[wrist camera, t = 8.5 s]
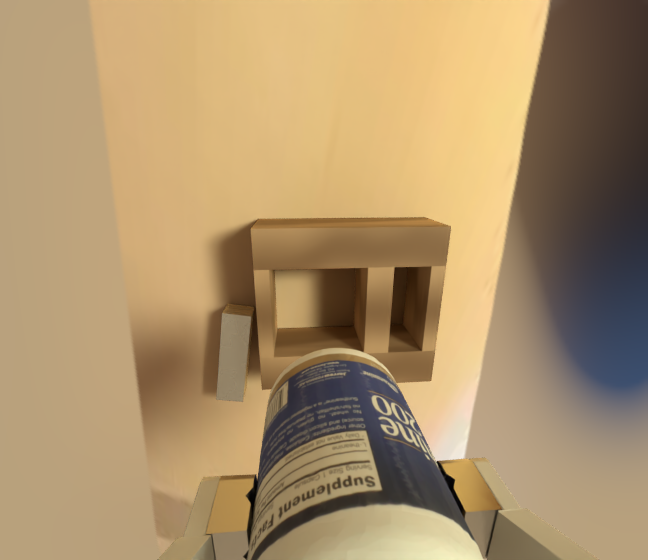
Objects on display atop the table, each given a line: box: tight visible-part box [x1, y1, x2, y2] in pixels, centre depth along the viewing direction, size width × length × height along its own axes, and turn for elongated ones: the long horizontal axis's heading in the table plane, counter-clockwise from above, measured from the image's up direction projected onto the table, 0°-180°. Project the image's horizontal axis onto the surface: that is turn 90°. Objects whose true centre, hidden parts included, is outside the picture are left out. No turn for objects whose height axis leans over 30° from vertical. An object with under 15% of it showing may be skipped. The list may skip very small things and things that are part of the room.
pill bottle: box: [247, 348, 483, 560], centre depth 9 cm, size 5×5×10 cm
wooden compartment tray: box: [251, 217, 451, 390], centre depth 25 cm, size 12×13×4 cm
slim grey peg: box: [216, 304, 254, 402], centre depth 27 cm, size 8×2×2 cm, turn 171°
